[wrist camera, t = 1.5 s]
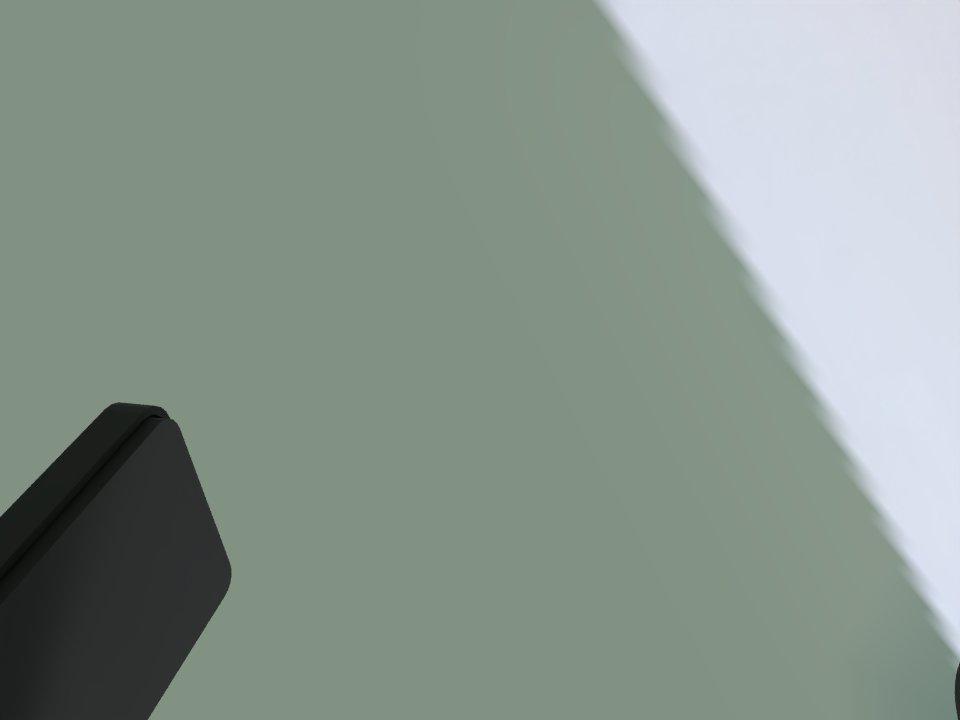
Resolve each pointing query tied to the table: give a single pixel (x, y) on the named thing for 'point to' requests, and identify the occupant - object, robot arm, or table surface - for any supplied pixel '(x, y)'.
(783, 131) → the table surface
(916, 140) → the table surface
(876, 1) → the table surface
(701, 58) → the table surface
